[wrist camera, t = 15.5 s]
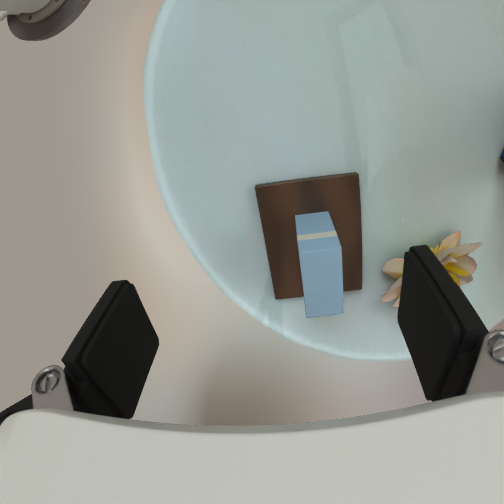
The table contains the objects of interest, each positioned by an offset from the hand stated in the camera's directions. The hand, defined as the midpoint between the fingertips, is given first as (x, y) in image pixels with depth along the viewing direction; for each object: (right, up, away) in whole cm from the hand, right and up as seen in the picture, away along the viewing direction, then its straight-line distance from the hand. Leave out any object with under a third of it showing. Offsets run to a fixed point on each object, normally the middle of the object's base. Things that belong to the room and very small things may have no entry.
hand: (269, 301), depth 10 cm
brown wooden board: (+7, +3, +29) cm, 30 cm away
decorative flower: (+23, 0, +29) cm, 37 cm away
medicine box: (+7, +3, +28) cm, 29 cm away
